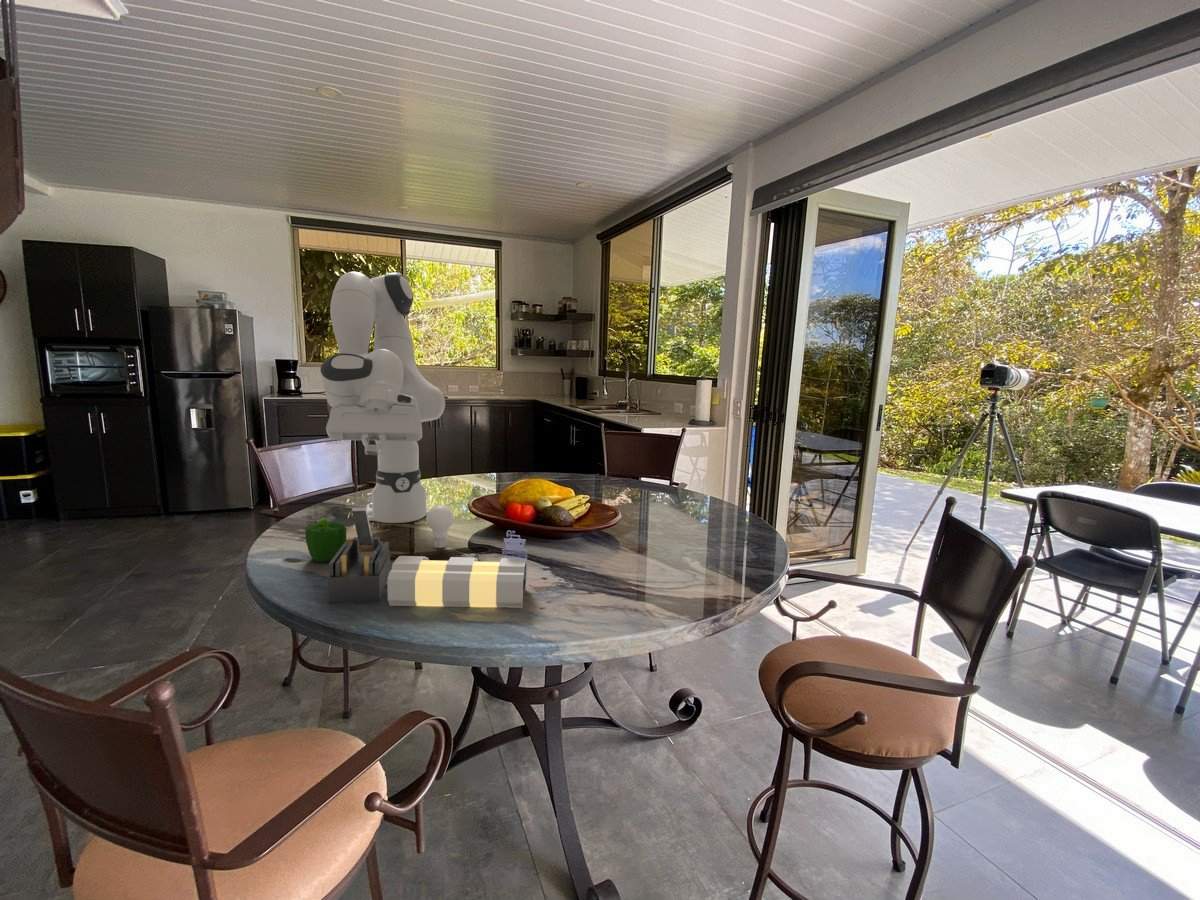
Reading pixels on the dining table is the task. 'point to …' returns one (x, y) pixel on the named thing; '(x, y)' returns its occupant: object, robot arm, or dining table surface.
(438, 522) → the lightbulb
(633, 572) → the dining table surface
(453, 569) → the grey yellow striped block
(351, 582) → the dark grey slotted box
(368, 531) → the grey slab
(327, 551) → the bell pepper
